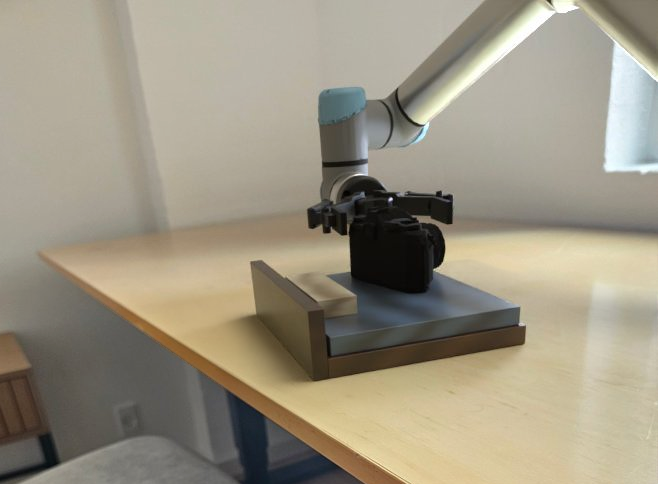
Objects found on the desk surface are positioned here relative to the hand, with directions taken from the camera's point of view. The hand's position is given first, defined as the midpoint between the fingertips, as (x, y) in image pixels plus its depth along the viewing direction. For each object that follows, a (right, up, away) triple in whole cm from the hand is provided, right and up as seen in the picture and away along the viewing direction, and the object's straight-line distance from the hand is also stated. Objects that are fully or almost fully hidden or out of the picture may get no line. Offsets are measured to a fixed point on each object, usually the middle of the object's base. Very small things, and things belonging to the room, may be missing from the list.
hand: (397, 218), depth 81 cm
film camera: (+1, -7, +2) cm, 7 cm away
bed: (-2, -14, -2) cm, 14 cm away
